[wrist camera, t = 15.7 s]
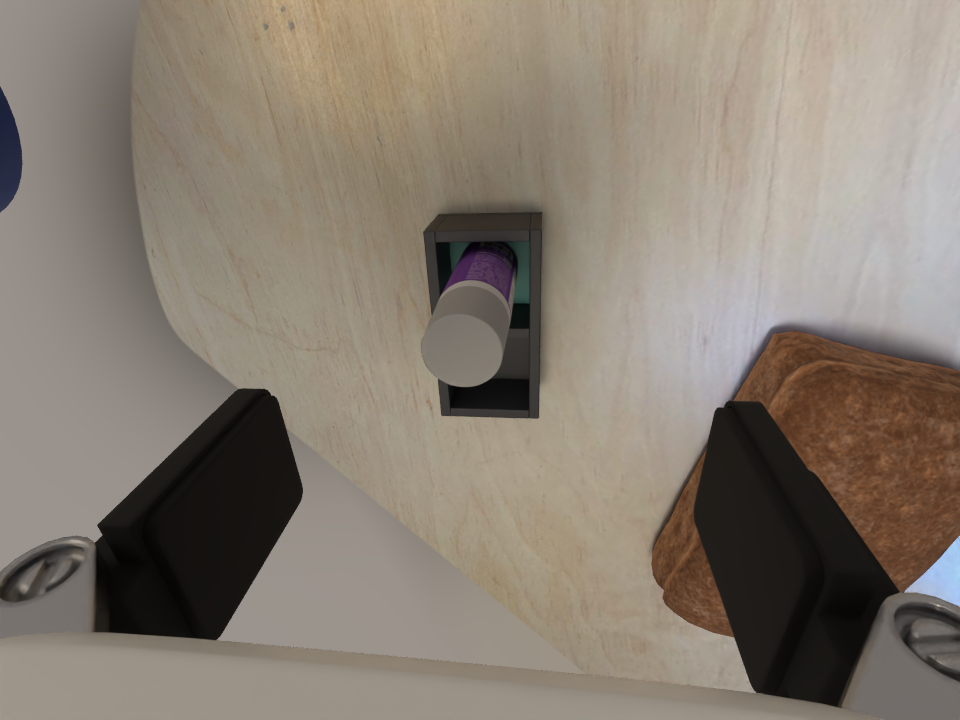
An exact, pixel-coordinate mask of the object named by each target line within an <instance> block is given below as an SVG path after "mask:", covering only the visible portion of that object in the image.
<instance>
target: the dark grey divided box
mask: <svg viewBox="0 0 960 720" xmlns="http://www.w3.org/2000/svg"><path fill="white" fill-rule="evenodd" d="M423 234H424V244H425V254H426V264H427V274H428V284H429V294H430V304H431V314H432V315H433V312H434V310H435V308H436V305H437V303H438V301H439V298H440V296H441V294H442V292H443V291H444V289H445V287H446V285H447V283H448V281H449V279H450V277H451V275H452V273H453V271H454V269H455V267H456V265H457V263H458V261H459V259H460V257H461V256H462V254H463V252H464V250H465V249H466V247H467V246H468V245H469V244H470V243H472V242H506V243H507V244H508V245H509V246H510V247H511V248H512V249H513V251H514V252H515V254H516V257H517V260H518V273H517V280H516V287H515V294H514V300H513V307H512V314H511V321H510V326H509V330H508V335H507V340H506V344H505V349H504V354H503V358H502V362H501V365H500V367H499V369H498V371H497V372H496V374H495V375H494V376H493V377H492V378H491V379H489V380H488V381H486V382H484V383H482V384H480V385H477V386H472V387H458V386H453V385H450V384H447V383H445V382H443V381H441V380H440V379H438V385H439V395H440V405H441V415H442V416H469V417H502V418H537V419H538V418H539V384H540V320H541V256H542V212H522V213H474V214H438V215H437V217H436V218H435V219H434V220H433V221H432V222H431V223H430V225H429V226H428V227H427V228H426V229H425V230H424V232H423Z"/></svg>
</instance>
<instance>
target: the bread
mask: <svg viewBox="0 0 960 720" xmlns="http://www.w3.org/2000/svg"><path fill="white" fill-rule="evenodd" d="M734 401H758V402H761V403H762V404H763V405H764V406H765V408H766V409H767V411H768V412H769V414H770V415H771V416H772V418H773V419H774V421H775V422H776V424H777V425H778V427H779V428H780V429H781V431H782V432H783V434H784V435H785V437H786V438H787V439H788V441H789V442H790V444H791V445H792V447H793V448H794V449H795V451H796V452H797V454H798V455H799V457H800V458H801V459H802V461H803V462H804V464H805V465H806V467H807V468H808V470H810V471H812V472H814V473H815V474H816V475H817V476H818V477H819V478H820V480H821V481H822V483H823V484H824V486H825V487H826V488H827V490H828V491H829V493H830V494H831V495H832V497H833V498H834V500H835V501H836V502H837V504H838V505H839V507H840V508H841V509H842V511H843V512H844V514H845V515H846V517H847V518H848V519H849V521H850V522H851V524H852V525H853V526H854V528H855V529H856V531H857V532H858V533H859V535H860V536H861V538H862V539H863V540H864V542H865V543H866V545H867V546H868V548H869V549H870V550H871V552H872V553H873V555H874V556H875V557H876V559H877V560H878V562H879V563H880V564H881V566H882V567H883V569H884V570H885V571H886V573H887V574H888V576H889V577H890V578H891V580H892V581H893V583H894V584H895V586H896V587H897V588H898V590H899V591H900V593H904V592H905V590H906V589H907V588H908V587H909V586H910V585H912V584H913V583H914V582H915V581H916V580H917V579H918V578H920V577H921V576H922V575H923V574H924V573H925V572H926V571H927V570H928V569H929V568H930V567H931V566H932V565H933V564H934V563H935V562H936V561H937V560H938V559H939V558H940V557H941V556H942V555H943V553H944V552H945V551H946V550H947V549H948V548H949V547H950V545H951V544H952V543H953V542H954V541H955V540H956V539H957V538H958V536H959V535H960V371H958V370H955V369H951V368H946V367H942V366H938V365H933V364H927V363H921V362H914V361H909V360H905V359H901V358H896V357H892V356H888V355H884V354H879V353H875V352H871V351H867V350H864V349H860V348H857V347H853V346H849V345H846V344H842V343H838V342H834V341H830V340H827V339H824V338H821V337H818V336H815V335H812V334H807V333H802V332H797V331H790V332H783V333H776V334H773V336H772V338H771V340H770V342H769V344H768V345H767V347H766V349H765V350H764V352H763V353H762V355H761V356H760V357H759V359H758V361H757V362H756V364H755V365H754V367H753V369H752V370H751V372H750V373H749V375H748V377H747V378H746V380H745V382H744V383H743V385H742V386H741V388H740V390H739V392H738V393H737V395H736V397H735V399H734ZM705 454H706V451H705V453H704V454H703V456H702V458H701V459H700V461H699V463H698V464H697V466H696V468H695V470H694V472H693V474H692V476H691V478H690V480H689V482H688V484H687V485H686V487H685V489H684V491H683V492H682V494H681V496H680V499H679V501H678V503H677V505H676V508H675V510H674V512H673V514H672V516H671V518H670V520H669V522H668V523H667V525H666V526H665V528H664V529H663V531H662V533H661V535H660V536H659V538H658V540H657V542H656V544H655V547H654V550H653V554H652V570H653V576H654V578H655V580H656V582H657V584H658V585H659V586H660V587H661V588H662V589H663V590H664V594H663V600H664V602H665V605H667V606H668V607H669V608H670V609H671V610H672V611H673V612H674V613H676V614H677V615H679V616H680V617H682V618H683V619H684V620H686V621H687V622H689V623H691V624H693V625H696V626H698V627H701V628H703V629H706V630H708V631H711V632H713V633H717V634H721V635H725V636H730V637H734V635H733V632H732V629H731V626H730V623H729V620H728V617H727V615H726V612H725V609H724V606H723V603H722V600H721V597H720V594H719V592H718V589H717V586H716V583H715V580H714V577H713V574H712V571H711V568H710V566H709V563H708V560H707V557H706V554H705V551H704V548H703V545H702V543H701V540H700V537H699V534H698V531H697V528H696V525H695V521H694V503H695V499H696V494H697V490H698V485H699V481H700V476H701V472H702V467H703V463H704V458H705Z"/></svg>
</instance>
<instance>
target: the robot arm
mask: <svg viewBox="0 0 960 720" xmlns="http://www.w3.org/2000/svg"><path fill="white" fill-rule="evenodd" d="M302 494H303V488H302V483H301V479H300V476H299V472H298V469H297V466H296V462H295V458H294V455H293V451H292V448H291V444H290V441H289V437H288V434H287V430H286V427H285V423H284V420H283V416H282V413H281V409H280V406H279V402H278V400H277V398H276V397H275V396H271V394H270V392H269V391H268V390H266V389H238V390H237V391H235V392H234V393H233V394H232V395H231V396H230V397H229V398H228V399H227V400H226V401H225V402H224V403H223V404H222V405H221V406H220V407H219V408H218V409H217V410H216V411H215V412H214V413H213V414H211V415H210V416H209V417H208V418H207V419H206V420H205V421H204V422H203V423H202V424H201V425H200V426H199V427H198V428H197V429H196V430H195V431H194V432H193V433H192V434H191V435H190V436H189V437H188V438H187V439H186V440H185V441H184V442H183V443H182V444H181V445H179V447H177V448H176V449H175V450H174V451H173V452H172V453H171V454H170V455H169V456H168V457H167V458H166V459H165V460H164V461H163V462H162V463H161V464H160V465H159V466H158V467H157V468H156V469H155V470H154V471H153V472H152V473H151V474H149V475H148V476H147V477H146V478H145V479H144V480H143V481H142V482H141V483H140V484H139V485H138V486H137V487H136V488H135V489H134V490H133V491H132V492H131V493H130V494H129V495H128V496H127V497H126V498H125V499H124V500H123V501H122V502H121V503H120V504H118V505H117V506H116V507H115V508H114V509H113V510H112V511H111V512H110V513H109V514H108V515H107V516H106V517H105V518H104V519H103V520H102V521H101V522H100V523H99V524H98V525H97V526H98V528H99V529H100V531H101V533H102V537H100V538H99V539H98V541H96V542H95V543H94V542H93V541H92V540H90V539H89V538H87V537H81V536H71V537H63V538H59V539H57V540H53V541H49V542H47V543H44V544H42V545H40V546H38V547H36V548H33V549H31V550H30V551H28V552H26V553H25V554H23V555H21V556H20V557H18V558H17V559H15V560H14V561H13V562H11V563H10V564H9V565H8V566H6V567H5V568H4V569H3V570H2V571H1V572H0V720H960V607H959V606H957V605H954V604H952V603H949V602H947V601H944V600H942V599H940V598H937V597H934V596H929V595H925V594H920V593H900V591H899V590H898V588H897V587H896V586H895V584H894V583H893V581H892V580H891V578H890V577H889V576H888V574H887V573H886V571H885V570H884V569H883V567H882V566H881V564H880V563H879V562H878V560H877V559H876V557H875V556H874V555H873V553H872V552H871V550H870V549H869V548H868V546H867V545H866V543H865V542H864V540H863V539H862V538H861V536H860V535H859V533H858V532H857V531H856V529H855V528H854V526H853V525H852V524H851V522H850V521H849V519H848V518H847V517H846V515H845V514H844V512H843V511H842V509H841V508H840V507H839V505H838V504H837V502H836V501H835V500H834V498H833V497H832V495H831V494H830V493H829V491H828V490H827V488H826V487H825V486H824V484H823V483H822V481H821V480H820V478H819V477H818V476H817V475H816V474H815V473H814V472H812V471H810V470H808V468H807V467H806V465H805V464H804V462H803V461H802V459H801V458H800V457H799V455H798V454H797V452H796V451H795V449H794V448H793V447H792V445H791V444H790V442H789V441H788V439H787V438H786V437H785V435H784V434H783V432H782V431H781V429H780V428H779V427H778V425H777V424H776V422H775V421H774V419H773V418H772V416H771V415H770V414H769V412H768V411H767V409H766V408H765V406H764V405H763V404H762V403H761V402H758V401H728V402H727V403H726V404H725V406H724V408H717V409H716V411H715V413H714V417H713V422H712V426H711V431H710V435H709V440H708V445H707V449H706V454H705V458H704V463H703V467H702V472H701V476H700V481H699V485H698V490H697V494H696V499H695V503H694V521H695V525H696V528H697V531H698V534H699V537H700V540H701V543H702V545H703V548H704V551H705V554H706V557H707V560H708V563H709V566H710V568H711V571H712V574H713V577H714V580H715V583H716V586H717V589H718V592H719V594H720V597H721V600H722V603H723V606H724V609H725V612H726V615H727V617H728V620H729V623H730V626H731V629H732V632H733V635H734V638H735V640H736V643H737V646H738V649H739V652H740V655H741V658H742V661H743V664H744V666H745V669H746V672H747V675H748V678H749V681H750V683H751V686H752V688H753V689H754V691H755V692H757V693H749V692H741V691H732V690H724V689H715V688H706V687H698V686H689V685H681V684H672V683H663V682H655V681H645V680H635V679H624V678H614V677H604V676H594V675H583V674H574V673H564V672H553V671H543V670H533V669H523V668H513V667H503V666H493V665H482V664H471V663H460V662H450V661H439V660H428V659H418V658H408V657H396V656H386V655H375V654H364V653H353V652H342V651H332V650H320V649H309V648H297V647H286V646H275V645H264V644H252V643H240V642H229V641H218V640H217V639H218V638H219V637H220V636H221V634H222V633H223V631H224V629H225V628H226V626H227V624H228V623H229V621H230V619H231V618H232V616H233V614H234V612H235V611H236V609H237V608H238V606H239V604H240V603H241V601H242V599H243V598H244V596H245V594H246V592H247V591H248V589H249V587H250V585H251V584H252V582H253V581H254V579H255V577H256V576H257V574H258V572H259V571H260V569H261V567H262V566H263V564H264V562H265V561H266V559H267V557H268V556H269V554H270V552H271V550H272V549H273V547H274V545H275V544H276V542H277V540H278V539H279V537H280V535H281V533H282V532H283V530H284V529H285V527H286V525H287V524H288V522H289V520H290V519H291V517H292V515H293V514H294V512H295V510H296V509H297V507H298V505H299V503H300V501H301V498H302ZM758 693H763V694H758Z"/></svg>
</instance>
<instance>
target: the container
mask: <svg viewBox="0 0 960 720" xmlns="http://www.w3.org/2000/svg"><path fill="white" fill-rule="evenodd" d="M517 273H518V260H517V257H516V254H515V252H514V251H513V249H512V248H511V247H510V246H509V245H508V244H507V243H506V242H472V243H470V244H469V245H468V246H467V247H466V249H465V250H464V252H463V254H462V256H461V257H460V259H459V261H458V263H457V265H456V267H455V269H454V271H453V273H452V275H451V277H450V279H449V281H448V283H447V285H446V287H445V289H444V291H443V292H442V294H441V296H440V298H439V301H438V303H437V305H436V308H435V310H434V312H433V315H432V317H431V319H430V322H429V324H428V326H427V329H426V331H425V333H424V336H423V338H422V343H421V353H422V357H423V360H424V362H425V364H426V366H427V368H428V369H429V370H430V371H431V373H432V374H433V375H434V376H436V377H437V378H438V379H440V380H441V381H443V382H445V383H447V384H450V385H453V386H458V387H472V386H477V385H480V384H482V383H484V382H486V381H488V380H489V379H491V378H492V377H493V376H494V375H495V374H496V372H497V371H498V369H499V367H500V365H501V362H502V358H503V354H504V349H505V344H506V340H507V335H508V330H509V326H510V321H511V314H512V307H513V300H514V294H515V287H516V280H517Z"/></svg>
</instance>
